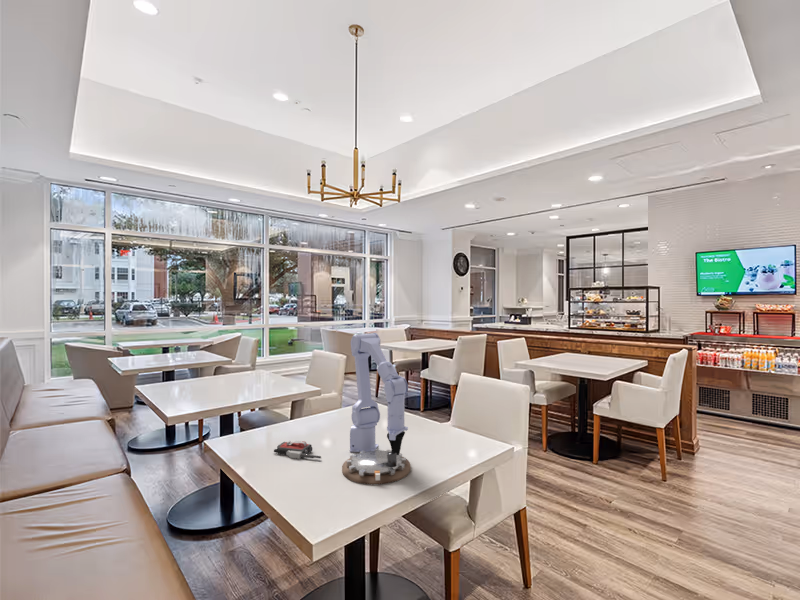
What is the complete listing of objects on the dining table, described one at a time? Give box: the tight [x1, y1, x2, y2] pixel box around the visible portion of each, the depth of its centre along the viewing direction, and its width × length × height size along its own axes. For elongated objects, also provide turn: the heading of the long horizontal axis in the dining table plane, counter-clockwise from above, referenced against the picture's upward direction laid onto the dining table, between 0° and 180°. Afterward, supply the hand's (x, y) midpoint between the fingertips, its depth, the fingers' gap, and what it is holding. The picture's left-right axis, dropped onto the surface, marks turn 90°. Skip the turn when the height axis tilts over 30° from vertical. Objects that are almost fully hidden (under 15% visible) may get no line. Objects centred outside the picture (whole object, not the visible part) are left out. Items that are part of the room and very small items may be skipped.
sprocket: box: [346, 448, 407, 477], centre depth 135 cm, size 20×20×6 cm
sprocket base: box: [341, 456, 412, 486], centre depth 135 cm, size 23×23×3 cm
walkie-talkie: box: [273, 440, 322, 460], centre depth 148 cm, size 9×4×20 cm
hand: (396, 454), depth 135 cm, fingers closed
